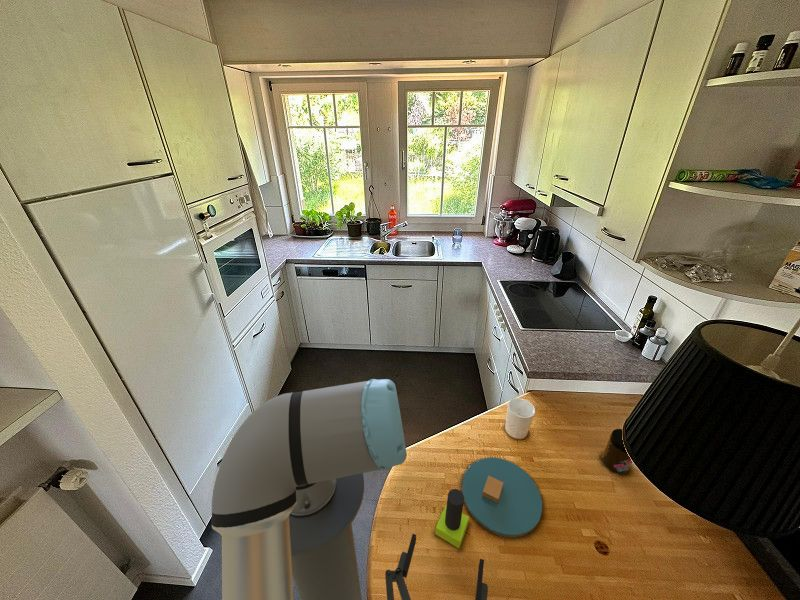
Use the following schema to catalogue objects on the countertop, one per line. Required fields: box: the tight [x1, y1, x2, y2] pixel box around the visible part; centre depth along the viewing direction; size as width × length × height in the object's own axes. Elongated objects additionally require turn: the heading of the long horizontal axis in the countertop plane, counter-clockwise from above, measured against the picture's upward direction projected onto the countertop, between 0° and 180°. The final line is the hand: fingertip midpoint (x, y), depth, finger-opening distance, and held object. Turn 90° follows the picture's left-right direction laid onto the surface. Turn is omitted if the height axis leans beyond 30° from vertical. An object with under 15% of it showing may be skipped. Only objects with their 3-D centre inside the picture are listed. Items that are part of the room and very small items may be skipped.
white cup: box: [504, 397, 536, 440], centre depth 100 cm, size 8×8×10 cm
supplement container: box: [601, 428, 633, 474], centre depth 90 cm, size 7×7×10 cm
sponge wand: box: [435, 488, 470, 549], centre depth 74 cm, size 6×6×13 cm
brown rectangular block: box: [482, 476, 503, 504], centre depth 83 cm, size 4×5×2 cm
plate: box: [461, 457, 543, 538], centre depth 84 cm, size 20×20×1 cm
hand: (446, 549), depth 65 cm, fingers open, 13 cm apart
